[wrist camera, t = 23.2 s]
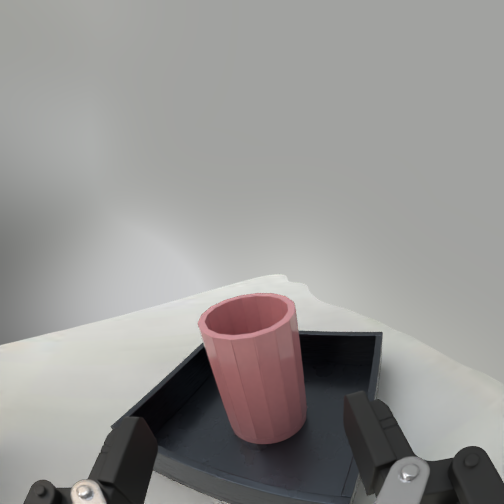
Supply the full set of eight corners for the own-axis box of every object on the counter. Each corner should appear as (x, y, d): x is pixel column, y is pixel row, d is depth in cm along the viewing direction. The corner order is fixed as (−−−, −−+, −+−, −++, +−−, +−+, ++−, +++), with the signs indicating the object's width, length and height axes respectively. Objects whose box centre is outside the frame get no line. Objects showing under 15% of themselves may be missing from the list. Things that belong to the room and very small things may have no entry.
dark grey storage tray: (343, 528, 10) (348, 506, 9) (132, 458, 18) (110, 426, 17) (380, 367, 25) (382, 331, 24) (228, 355, 33) (220, 324, 32)
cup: (291, 451, 17) (273, 343, 15) (216, 433, 20) (179, 332, 17) (316, 396, 22) (306, 293, 20) (250, 387, 25) (228, 292, 23)
